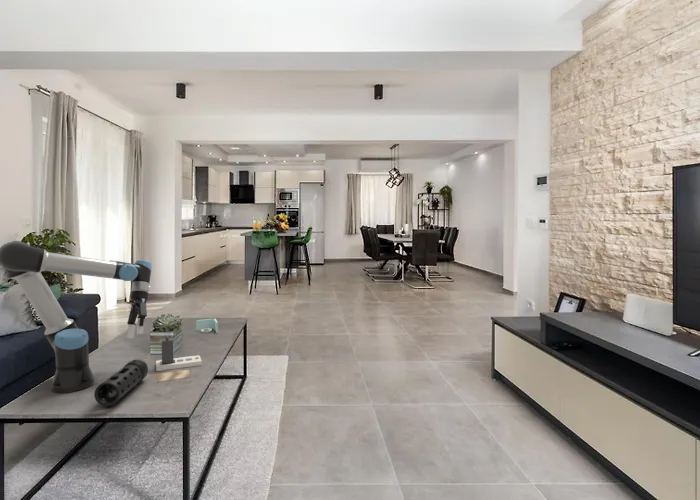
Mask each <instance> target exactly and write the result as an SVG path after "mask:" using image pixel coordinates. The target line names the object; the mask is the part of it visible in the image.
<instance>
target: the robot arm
mask: <svg viewBox="0 0 700 500" xmlns="http://www.w3.org/2000/svg"><path fill="white" fill-rule="evenodd" d="M0 265H1V266H2V268H3V269H4V271H5V273H6V274H7V277H9V279H11V280H15V281H16V282H17V284H18V285H19V286H20V289H21V291H22V292H23V294H24V295H25V297H26V298H27V300H28V302H29V303H30V305H31V306H32V308H33V309H34V311H35V312H36V315H37V316H38V318H39V319H40V321H41V322H42V324H43V326H44V327H45V330H44V333H43V334H44V336H45V337H46V339H47V341H48V342H49V344H50V346H51V347H52V349H53V350H54V354H55V373H54V376H53V379H52V381H51V392H54V393H59V394H63V393H72V392H78V391H81V390H84V389H88V388H89V387H91V386H93V385H94V384H95V375H94V374H93V372H92V369H91V368H90V361H89V360H90V354H89V353H90V352H89V334H88V331H86V330H85V329H82V328H79V327H78V326H77V324H76V322H75V321H74V319H72V318H68V316H67V315H66V313H65V312H64V309H63V307H62V306H61V305H60V303H59V301H58V300H57V298H56V296H55V295H54V293H53V291H52V290H51V288H50V286H49V284H48V283H47V281H46V280H45V278H44V276H43V274H42V272H45V271H46V272H53V273H61V274H69V275H70V274H71V275H78V276H79V275H80V276H81V275H82V276H88V277H95V278H96V277H97V278H104V279H113V280H119V281H124V282H130V281H131V282H132V284H131V285H132V286H131V292H130V300H131V301H134V302H133V303H132V304H131V308H130V311H129V315H128V319H127V323H126V324H127V325H128V327H127V334H126V339H134V338H135V334H137V335H139V334H140V335H143V334H144V329H145V328H144V327H145V321H146V320H145V319H146V318H147V316H148V315H147V314H148V313H147V311H148V310H147V301H148V299H149V295H150V294H149V290H150V289H151V286H150V281H151V274H152V263H151V262H150V261H149V260H145V259H143V260H142V259H139V260H136V261H135V262H134V263H132V262H131V263H130V262H126V261H125V262H124V261H118V260H104V259H99V258H90V257H82V256H78V255H77V256H76V255H69V254H63V253H56V252H49V251H47V250H46V249H45V248H41V247H40V248H39V247H35V246H32V245H29V244H27V243H25V242H24V241H23V242H22V241H19V240H18V241H16V240H14V241H10V242H7V243H4V244H3V245H1V247H0ZM136 321H137V322H136ZM136 323H137V324H136ZM135 327H136V328H135ZM135 329H136V330H135ZM135 331H136V333H135Z"/></svg>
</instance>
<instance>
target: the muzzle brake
mask: <svg viewBox="0 0 700 500" xmlns="http://www.w3.org/2000/svg"><path fill="white" fill-rule="evenodd" d="M148 373H149V366H148V364H147V362H146V361H145V360H142V359H140V358H139V359H133V360H130V361H129V362H128V363H126V364H125V365H124V366H123V367H122V368H120V369H119V370H118V371H116V372H115V373H114V374H112V375H111V376H110V377H108V378H107V379H106V380H104V381H103V382H101V383H100V384H99V385H97V387H95V390H94V393H93V394H94V395H93V397H94V399H95V401H96V402H97V403H98V404H99V405H101V406H103V407H105V408H111V407H112V406H113V405H115V404H116V403H118V401H119V400H121V399H122V398H123V397H124V396H125V395H126V394H127V393H129V391H131V390H132V389H134V387H135V386H136V385H137V384H138V383H141V382H142V381H143V380H144V379H145V378H146V377H147V375H148Z"/></svg>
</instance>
